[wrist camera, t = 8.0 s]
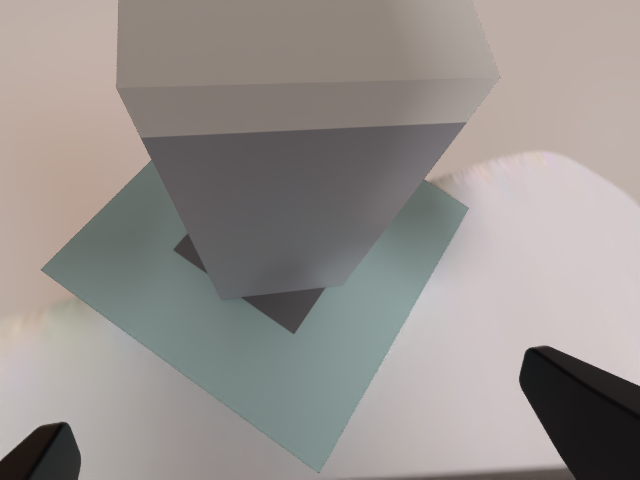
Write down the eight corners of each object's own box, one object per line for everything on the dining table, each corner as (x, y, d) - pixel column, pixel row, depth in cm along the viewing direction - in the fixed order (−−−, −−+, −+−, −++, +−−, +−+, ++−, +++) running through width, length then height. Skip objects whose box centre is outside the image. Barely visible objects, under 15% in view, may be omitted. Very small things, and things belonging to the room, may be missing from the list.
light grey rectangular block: (343, 285, 17) (500, 78, 6) (220, 299, 16) (116, 87, 5) (325, 179, 18) (418, -145, 7) (213, 187, 17) (122, -168, 6)
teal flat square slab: (459, 216, 20) (469, 207, 19) (315, 468, 15) (319, 474, 14) (246, 81, 21) (246, 65, 20) (53, 276, 16) (39, 269, 15)
